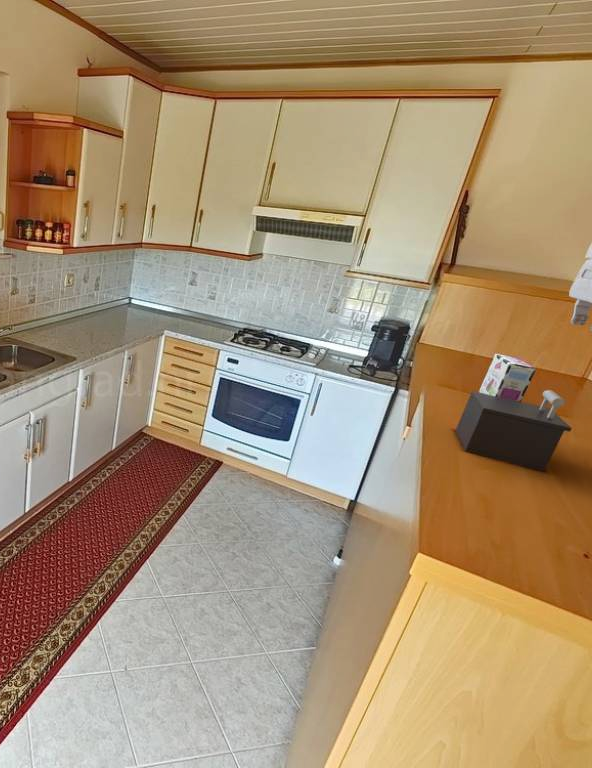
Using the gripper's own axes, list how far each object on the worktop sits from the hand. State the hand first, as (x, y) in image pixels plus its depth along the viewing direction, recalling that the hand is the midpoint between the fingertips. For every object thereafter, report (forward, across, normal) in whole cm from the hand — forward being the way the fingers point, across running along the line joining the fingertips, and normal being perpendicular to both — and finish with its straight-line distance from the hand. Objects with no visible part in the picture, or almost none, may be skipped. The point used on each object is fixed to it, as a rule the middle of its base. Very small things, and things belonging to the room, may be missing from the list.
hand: (586, 328), depth 90 cm
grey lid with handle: (+18, 0, -4) cm, 19 cm away
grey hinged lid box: (+27, 0, -5) cm, 28 cm away
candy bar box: (+27, -16, -4) cm, 32 cm away
